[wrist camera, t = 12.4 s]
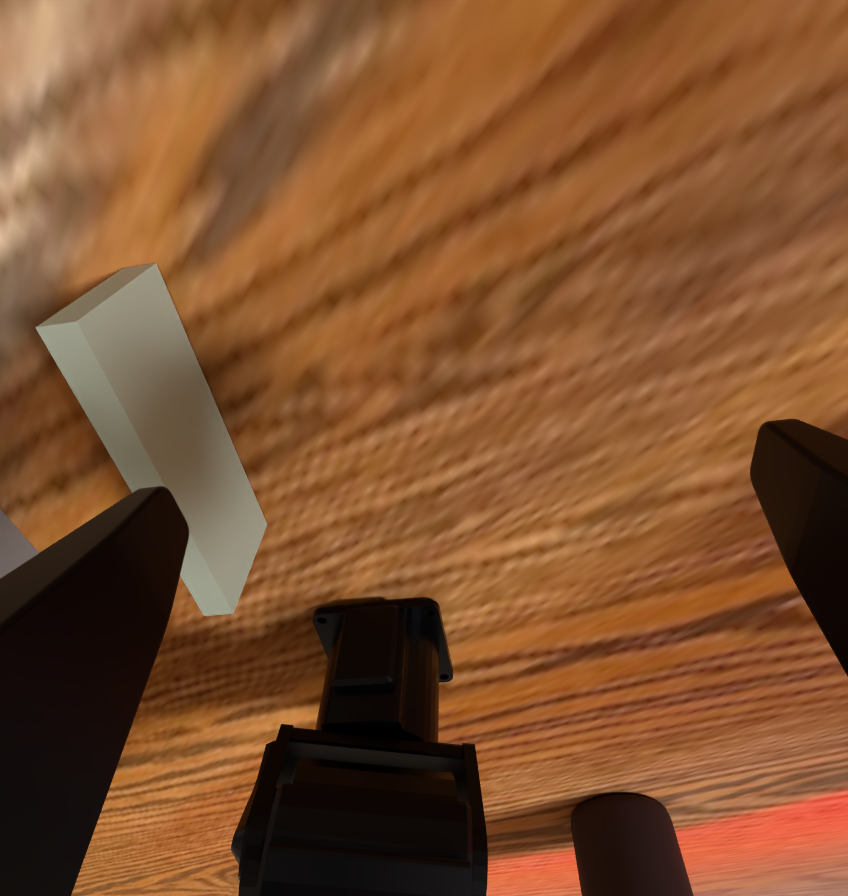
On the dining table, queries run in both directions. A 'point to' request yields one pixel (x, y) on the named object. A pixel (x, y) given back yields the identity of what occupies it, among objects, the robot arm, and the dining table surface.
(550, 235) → the dining table surface
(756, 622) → the dining table surface
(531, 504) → the dining table surface
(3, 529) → the offcut upper
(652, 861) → the wine bottle
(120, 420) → the panel
